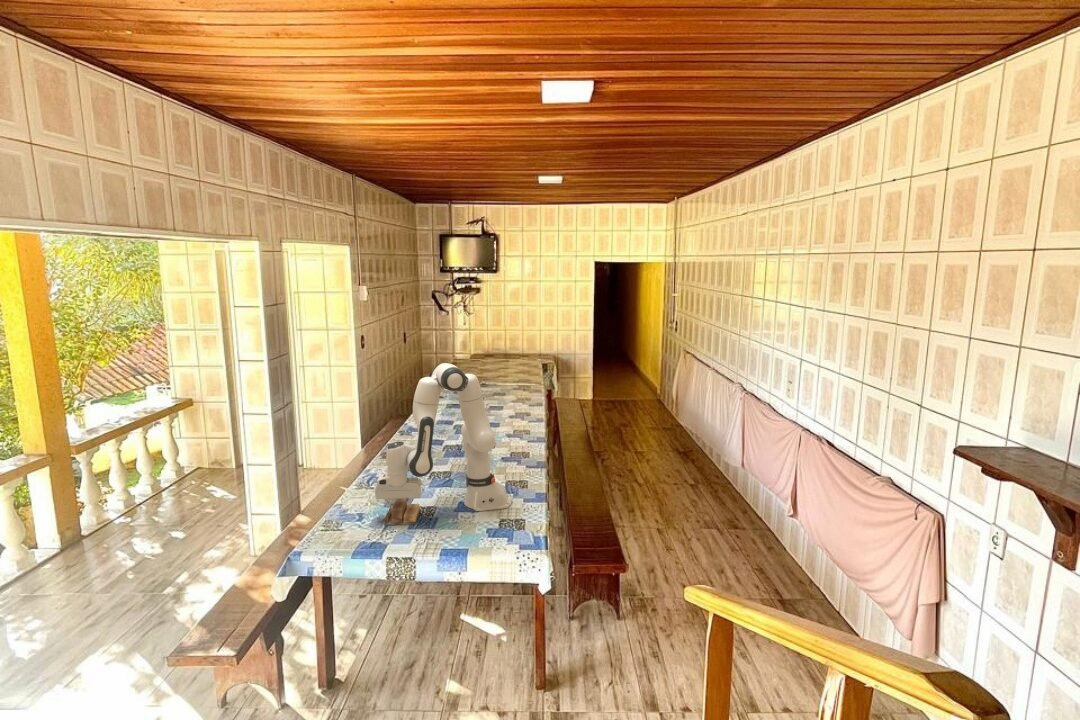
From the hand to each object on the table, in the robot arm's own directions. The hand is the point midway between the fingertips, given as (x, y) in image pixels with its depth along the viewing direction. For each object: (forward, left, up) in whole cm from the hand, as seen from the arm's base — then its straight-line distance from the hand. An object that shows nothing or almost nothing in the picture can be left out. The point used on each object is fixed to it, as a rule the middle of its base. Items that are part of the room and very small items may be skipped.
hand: (399, 506), depth 249 cm
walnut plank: (0, 0, -5) cm, 5 cm away
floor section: (-1, 0, -6) cm, 6 cm away
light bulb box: (+5, -20, -6) cm, 21 cm away
